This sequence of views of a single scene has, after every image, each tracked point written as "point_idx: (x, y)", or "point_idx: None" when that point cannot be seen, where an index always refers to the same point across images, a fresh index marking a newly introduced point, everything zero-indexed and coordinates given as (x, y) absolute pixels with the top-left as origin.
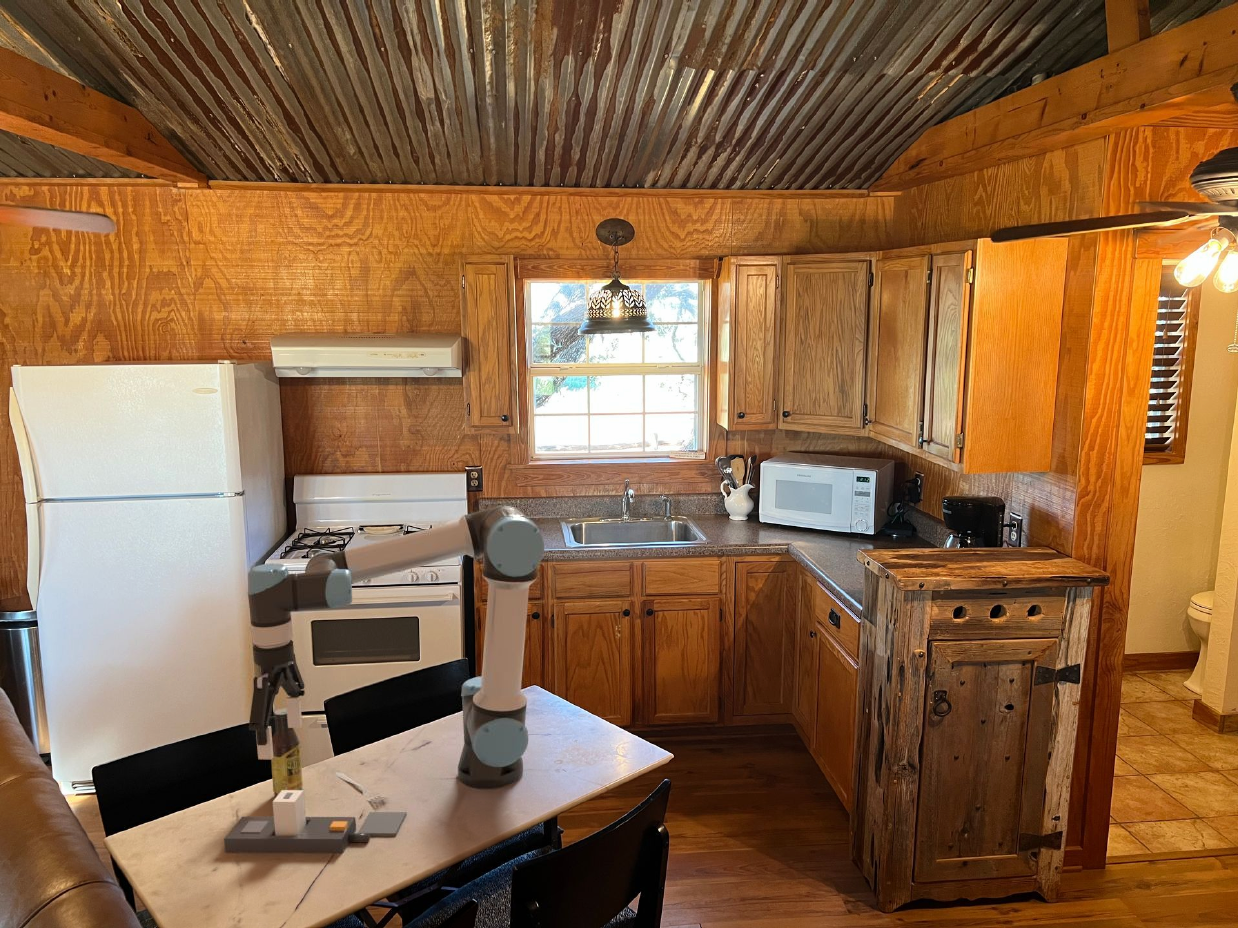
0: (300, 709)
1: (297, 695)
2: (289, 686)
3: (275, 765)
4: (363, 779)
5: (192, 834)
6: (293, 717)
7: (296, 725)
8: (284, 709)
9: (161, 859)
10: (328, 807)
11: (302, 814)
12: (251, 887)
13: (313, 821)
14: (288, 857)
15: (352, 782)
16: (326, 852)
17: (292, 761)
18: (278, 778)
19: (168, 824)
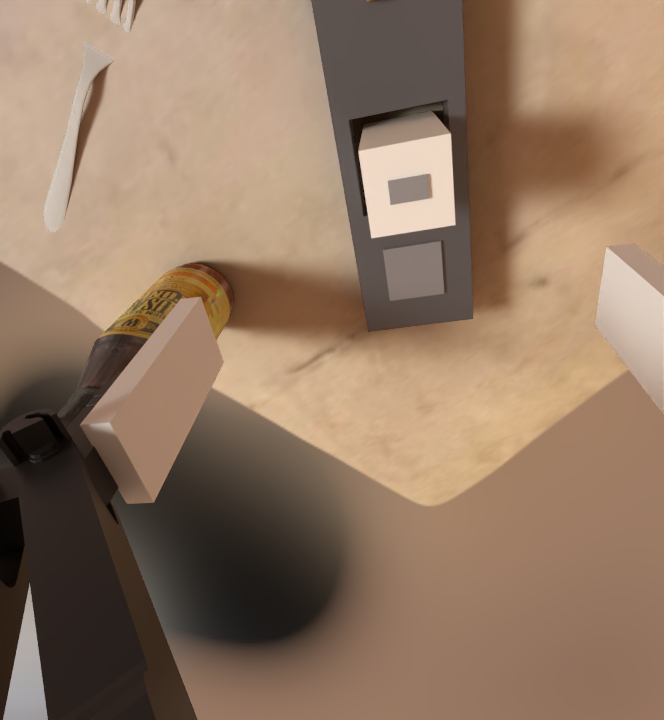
0: (137, 359)
1: (81, 450)
2: (133, 586)
3: None
4: (37, 118)
5: (403, 403)
6: (191, 367)
7: (204, 325)
8: None
9: (499, 408)
10: (214, 143)
11: (385, 131)
12: (637, 134)
13: (358, 102)
14: (485, 110)
15: (73, 141)
16: None
17: None
18: (215, 328)
19: (375, 460)
